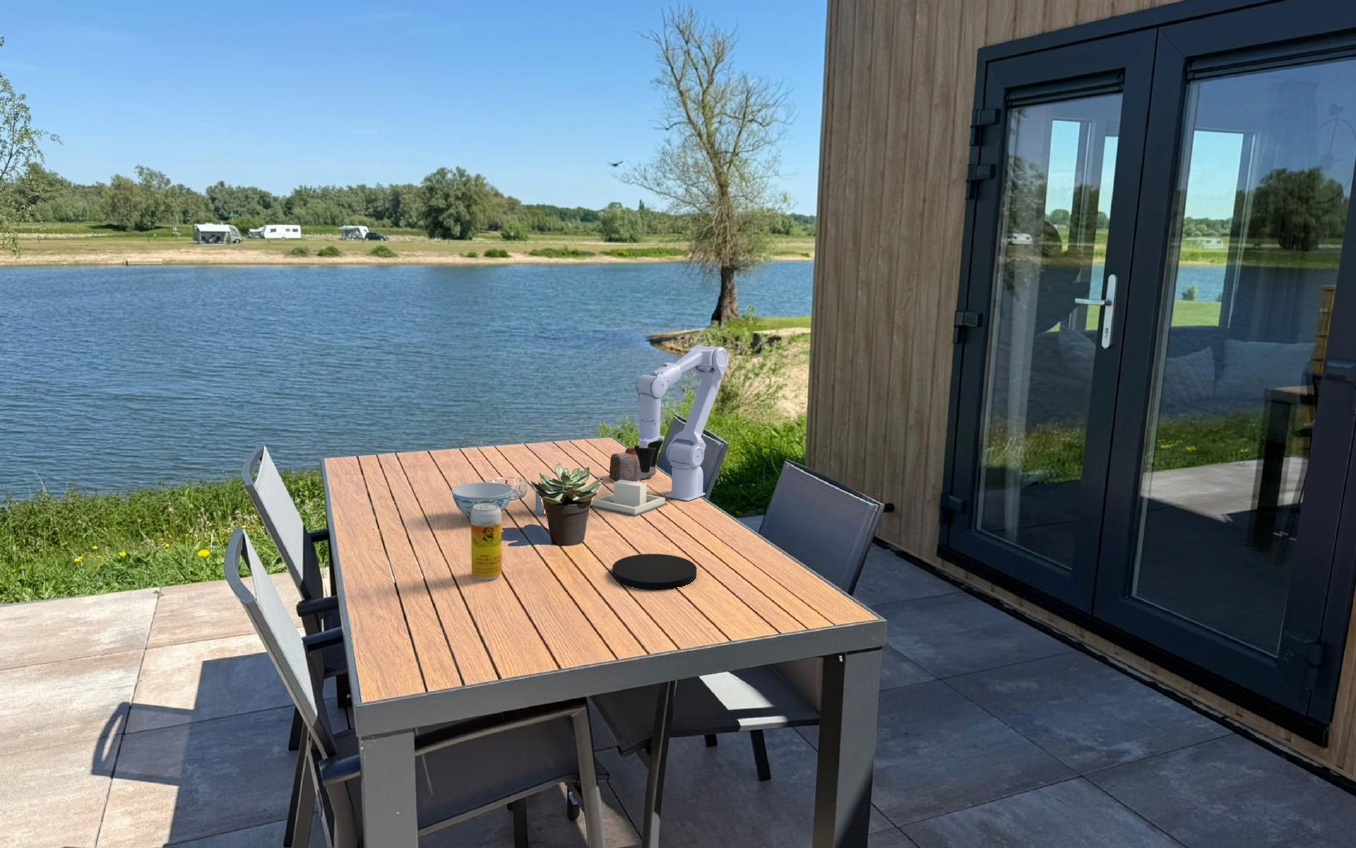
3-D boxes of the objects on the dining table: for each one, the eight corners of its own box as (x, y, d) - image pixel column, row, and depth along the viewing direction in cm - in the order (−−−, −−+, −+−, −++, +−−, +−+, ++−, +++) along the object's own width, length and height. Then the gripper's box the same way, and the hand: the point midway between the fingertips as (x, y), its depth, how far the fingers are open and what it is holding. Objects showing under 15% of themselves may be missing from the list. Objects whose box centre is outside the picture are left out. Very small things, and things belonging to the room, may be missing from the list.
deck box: (620, 500, 238) (620, 479, 237) (646, 504, 235) (646, 483, 234) (613, 504, 234) (613, 482, 233) (639, 507, 231) (640, 486, 230)
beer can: (476, 583, 174) (475, 511, 171) (468, 573, 179) (467, 504, 177) (505, 579, 177) (504, 508, 174) (497, 570, 182) (496, 501, 179)
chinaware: (439, 522, 214) (439, 492, 213) (475, 508, 228) (475, 480, 227) (490, 530, 209) (490, 500, 208) (524, 515, 223) (523, 486, 221)
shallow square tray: (623, 495, 245) (623, 489, 245) (667, 504, 237) (667, 497, 237) (590, 506, 233) (590, 500, 232) (635, 516, 224) (635, 509, 224)
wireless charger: (679, 597, 170) (679, 587, 170) (598, 584, 177) (598, 574, 176) (707, 569, 187) (707, 560, 187) (632, 558, 193) (632, 549, 193)
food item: (643, 474, 272) (644, 443, 271) (658, 479, 266) (658, 448, 264) (607, 479, 264) (607, 447, 263) (620, 484, 258) (621, 452, 256)
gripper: (658, 425, 222) (657, 476, 225) (669, 416, 236) (668, 464, 239) (632, 423, 224) (630, 474, 226) (644, 415, 238) (643, 463, 240)
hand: (648, 469), depth 232 cm, fingers open, 7 cm apart
